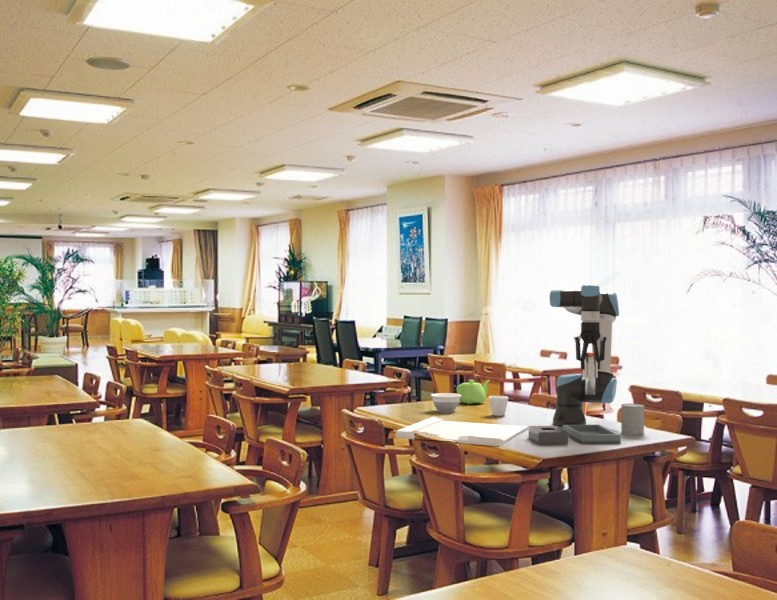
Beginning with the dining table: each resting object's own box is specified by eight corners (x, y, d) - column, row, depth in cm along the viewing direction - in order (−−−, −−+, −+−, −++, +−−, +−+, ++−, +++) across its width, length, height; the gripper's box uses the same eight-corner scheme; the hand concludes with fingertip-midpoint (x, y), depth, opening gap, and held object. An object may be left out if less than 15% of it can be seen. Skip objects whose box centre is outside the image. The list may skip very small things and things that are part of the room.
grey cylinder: (645, 435, 340) (645, 406, 340) (622, 434, 342) (622, 406, 342) (642, 431, 349) (642, 403, 349) (620, 431, 351) (620, 403, 351)
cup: (506, 417, 392) (506, 398, 391) (486, 416, 395) (486, 397, 395) (510, 414, 401) (510, 396, 401) (490, 413, 404) (490, 395, 404)
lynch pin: (584, 393, 336) (584, 352, 336) (593, 393, 336) (593, 352, 336) (587, 394, 332) (587, 353, 332) (596, 394, 332) (596, 353, 332)
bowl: (467, 411, 411) (467, 395, 411) (445, 414, 401) (445, 397, 401) (446, 408, 423) (446, 392, 423) (424, 411, 413) (424, 394, 413)
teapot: (483, 400, 456) (483, 377, 456) (497, 403, 442) (497, 380, 442) (449, 402, 447) (449, 379, 447) (462, 405, 433) (462, 381, 433)
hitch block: (528, 437, 334) (528, 425, 334) (556, 437, 335) (556, 425, 335) (538, 444, 318) (538, 432, 318) (568, 444, 319) (568, 432, 319)
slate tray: (562, 432, 346) (562, 424, 346) (598, 432, 348) (598, 424, 347) (581, 443, 320) (581, 435, 320) (620, 443, 322) (620, 434, 322)
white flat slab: (528, 430, 356) (528, 422, 356) (500, 447, 315) (500, 438, 315) (434, 423, 375) (434, 416, 375) (396, 439, 334) (396, 430, 334)
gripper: (573, 321, 329) (573, 378, 330) (613, 321, 331) (613, 378, 331) (567, 321, 337) (567, 376, 337) (607, 321, 338) (607, 376, 338)
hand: (590, 377), depth 334 cm, fingers closed on lynch pin, 4 cm apart
